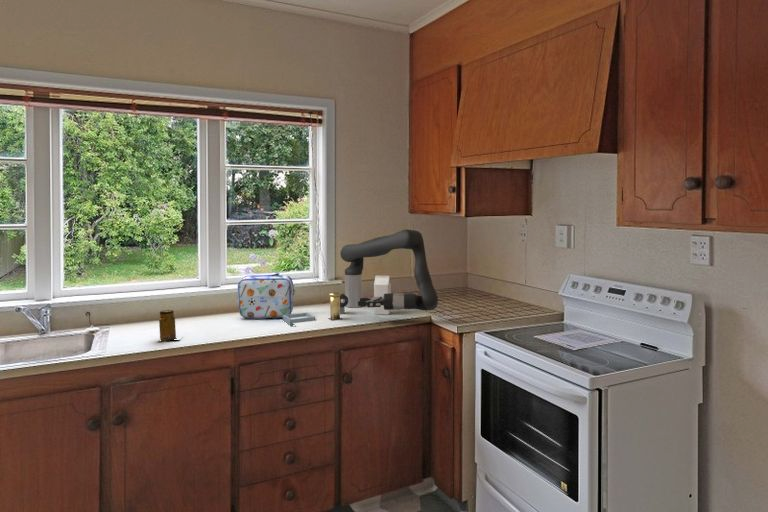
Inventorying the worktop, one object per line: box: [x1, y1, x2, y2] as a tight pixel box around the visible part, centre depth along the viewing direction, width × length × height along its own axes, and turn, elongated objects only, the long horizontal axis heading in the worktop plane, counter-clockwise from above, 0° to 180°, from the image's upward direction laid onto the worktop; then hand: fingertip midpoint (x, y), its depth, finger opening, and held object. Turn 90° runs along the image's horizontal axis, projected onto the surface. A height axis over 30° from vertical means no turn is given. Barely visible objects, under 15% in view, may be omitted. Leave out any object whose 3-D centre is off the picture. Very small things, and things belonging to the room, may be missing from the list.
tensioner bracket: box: [327, 292, 348, 322], centre depth 248 cm, size 18×14×11 cm
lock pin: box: [328, 291, 341, 321], centre depth 243 cm, size 5×5×12 cm
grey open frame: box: [282, 312, 316, 327], centre depth 244 cm, size 12×12×3 cm
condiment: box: [157, 309, 177, 343], centre depth 214 cm, size 7×8×12 cm
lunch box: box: [237, 272, 297, 320], centre depth 255 cm, size 28×10×22 cm, turn 94°
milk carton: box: [373, 275, 392, 316], centre depth 261 cm, size 7×7×19 cm
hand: (359, 301), depth 241 cm, fingers open, 8 cm apart
